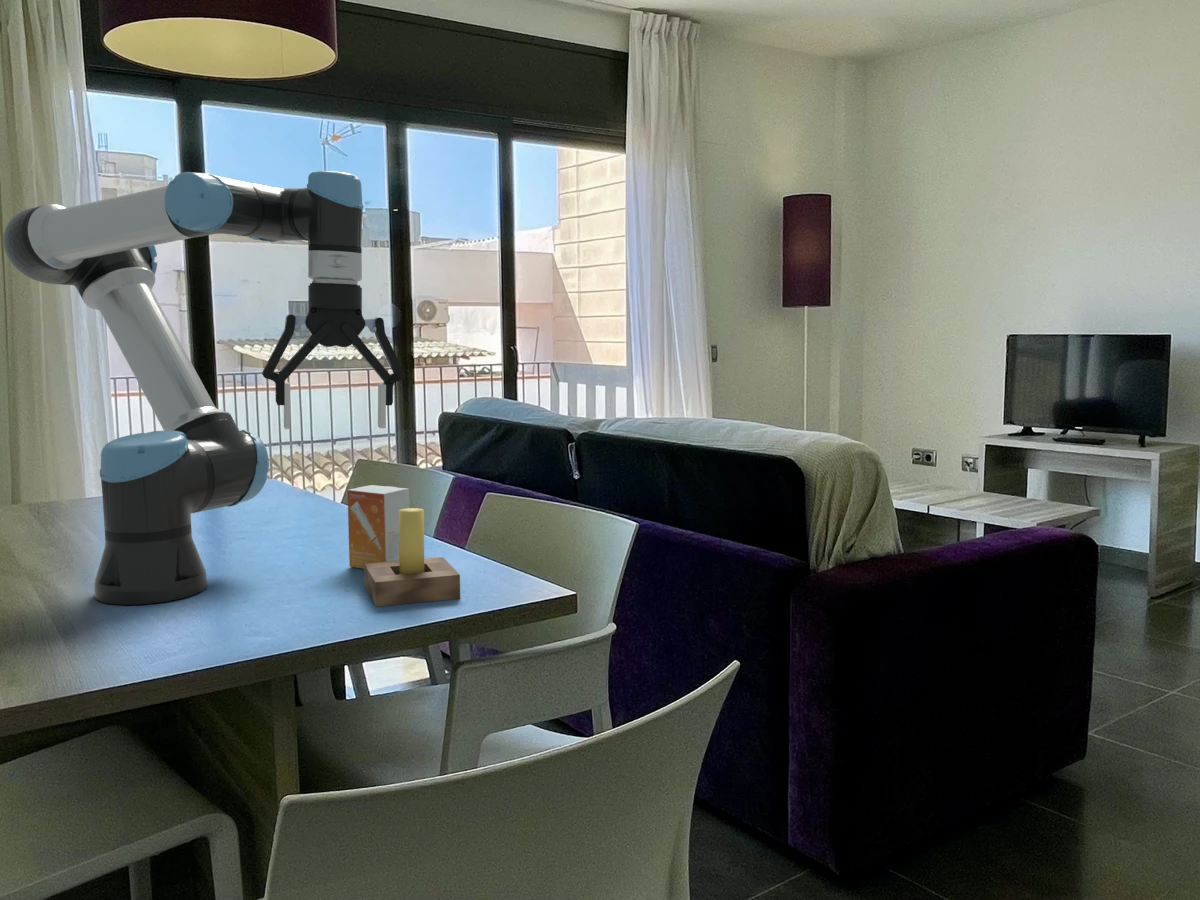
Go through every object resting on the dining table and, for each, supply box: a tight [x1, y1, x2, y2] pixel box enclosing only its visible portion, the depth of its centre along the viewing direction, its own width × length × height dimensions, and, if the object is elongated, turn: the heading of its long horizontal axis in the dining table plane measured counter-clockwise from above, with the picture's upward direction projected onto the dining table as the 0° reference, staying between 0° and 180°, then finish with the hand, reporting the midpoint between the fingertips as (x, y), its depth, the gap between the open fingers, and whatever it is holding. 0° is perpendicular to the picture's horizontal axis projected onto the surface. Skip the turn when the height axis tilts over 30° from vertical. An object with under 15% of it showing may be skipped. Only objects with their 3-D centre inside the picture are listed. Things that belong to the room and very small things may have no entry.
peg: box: [399, 507, 425, 574], centre depth 143 cm, size 4×4×12 cm
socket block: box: [364, 556, 461, 607], centre depth 144 cm, size 12×12×4 cm
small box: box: [347, 484, 411, 570], centre depth 159 cm, size 8×6×13 cm
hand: (335, 427), depth 144 cm, fingers open, 13 cm apart
